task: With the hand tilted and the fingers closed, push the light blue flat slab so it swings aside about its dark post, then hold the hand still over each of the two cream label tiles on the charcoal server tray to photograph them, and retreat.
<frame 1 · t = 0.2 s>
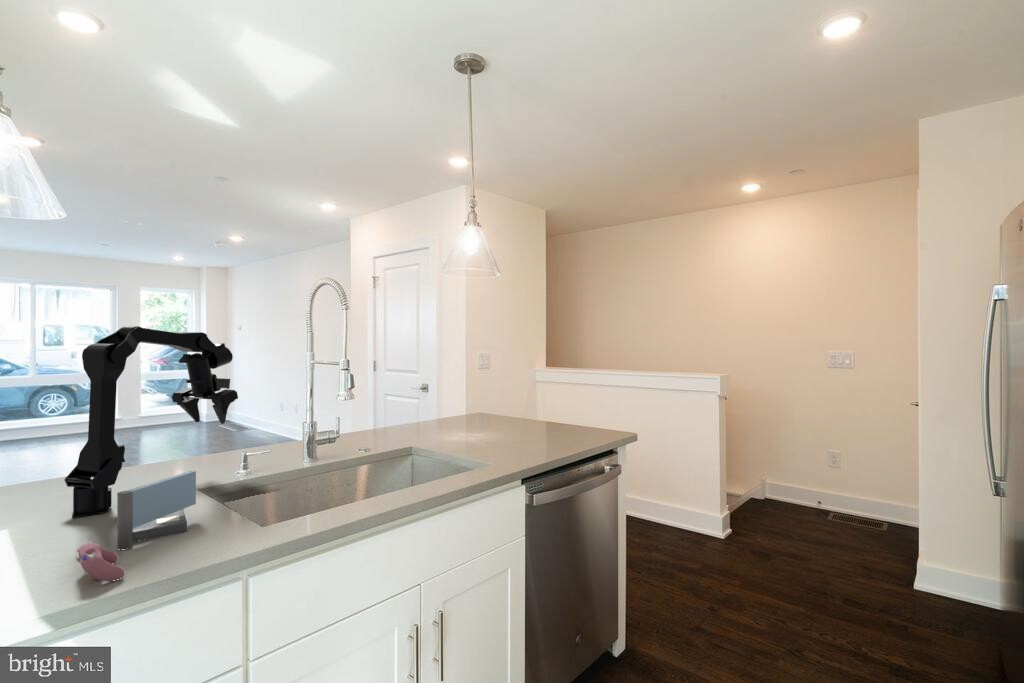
hand: (210, 422, 151), 15 cm above the worktop, tool pointing down, fingers open, 9 cm apart
light blue flat slab: (159, 507, 106), point 6 cm above the worktop, hinge at 0.0°
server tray: (153, 524, 111), on the worktop
video game controller: (99, 577, 87), on the worktop
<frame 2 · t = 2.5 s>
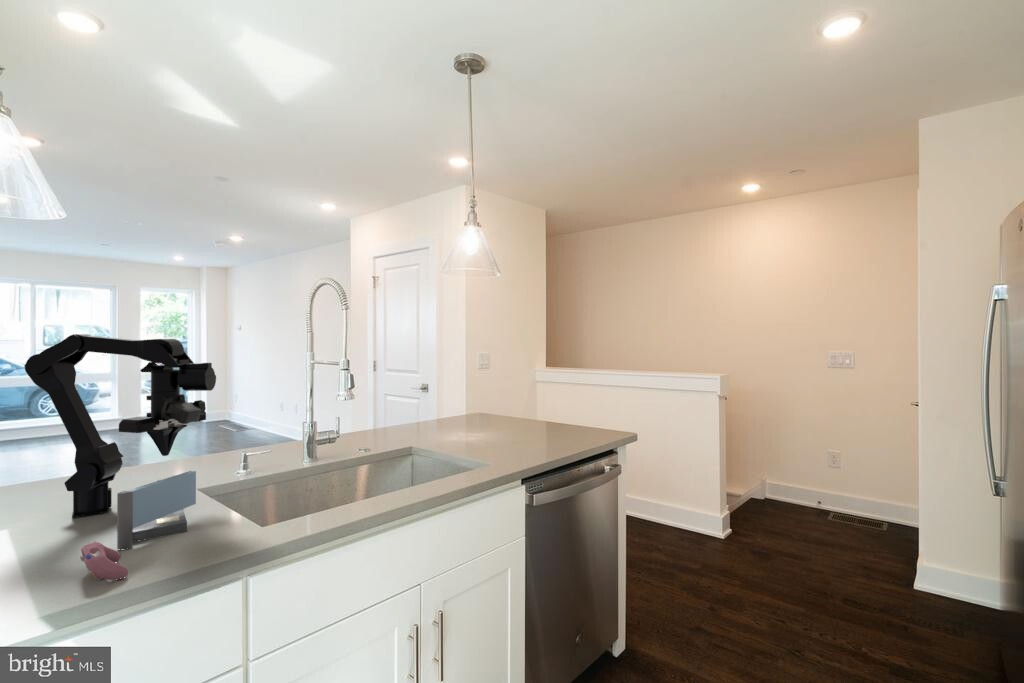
hand: (165, 455, 120), 13 cm above the worktop, tool pointing down, fingers closed
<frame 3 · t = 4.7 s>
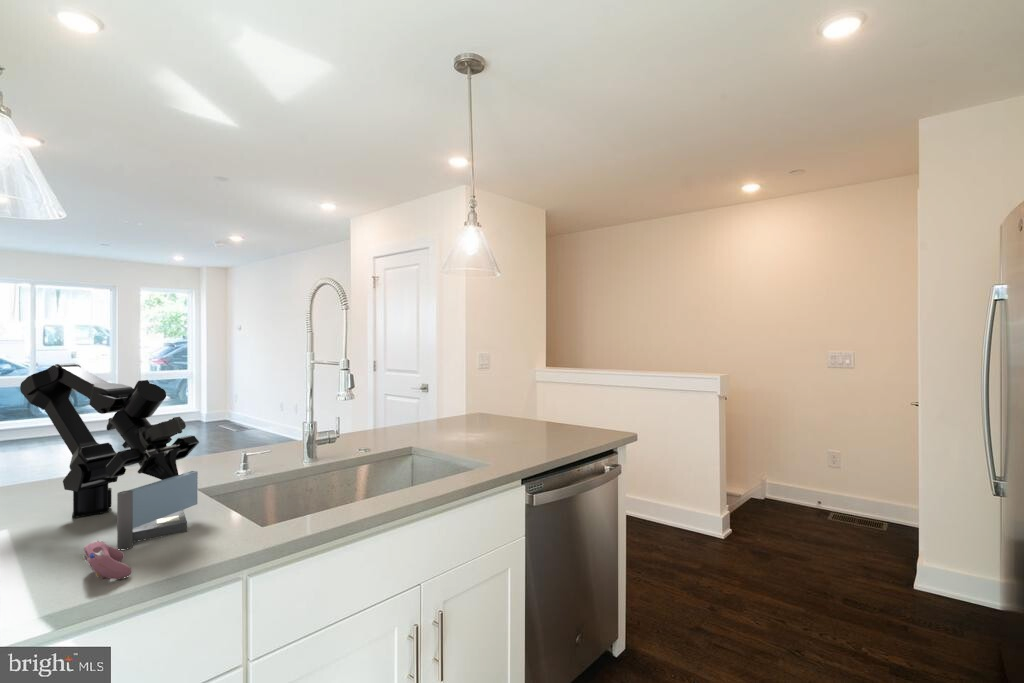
hand: (177, 483, 111), 9 cm above the worktop, tool tilted 45°, fingers closed, pressing on light blue flat slab
light blue flat slab: (159, 507, 106), point 6 cm above the worktop, hinge at -1.7°, touching gripper
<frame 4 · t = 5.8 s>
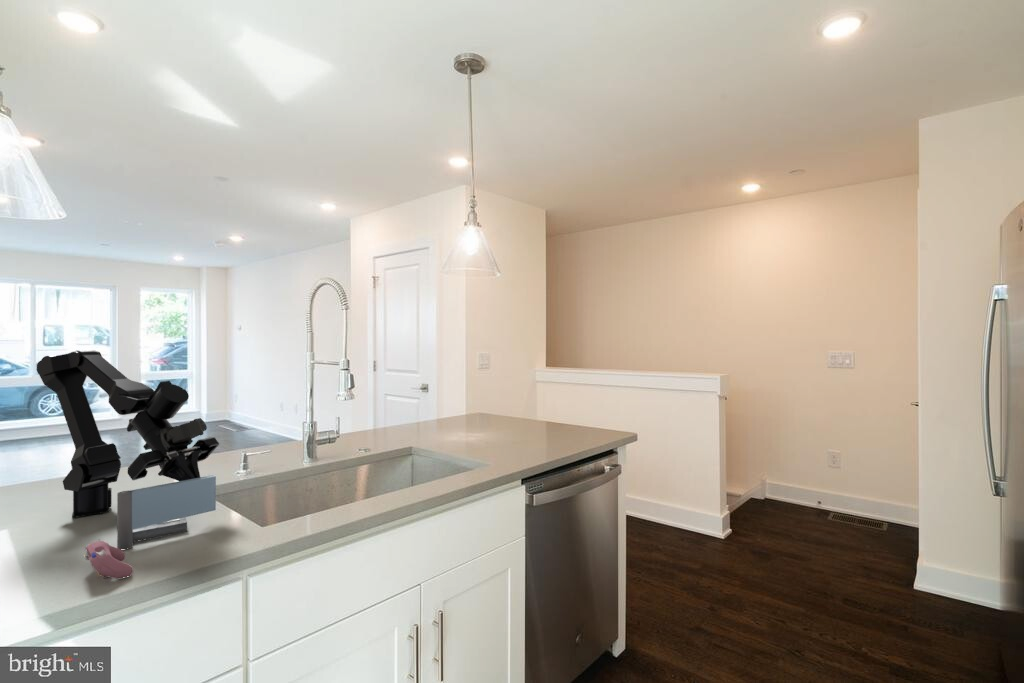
hand: (198, 485, 109), 9 cm above the worktop, tool tilted 45°, fingers closed
light blue flat slab: (169, 510, 104), point 6 cm above the worktop, hinge at -28.3°
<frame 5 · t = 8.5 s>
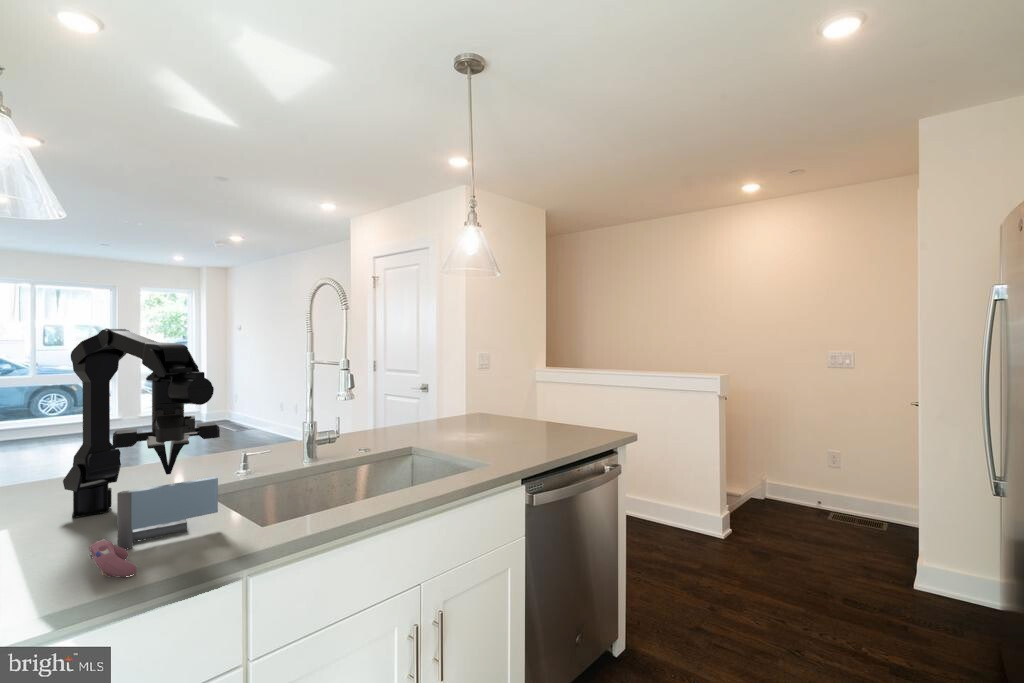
hand: (168, 474, 108), 12 cm above the worktop, tool pointing down, fingers closed
light blue flat slab: (169, 511, 104), point 6 cm above the worktop, hinge at -34.9°
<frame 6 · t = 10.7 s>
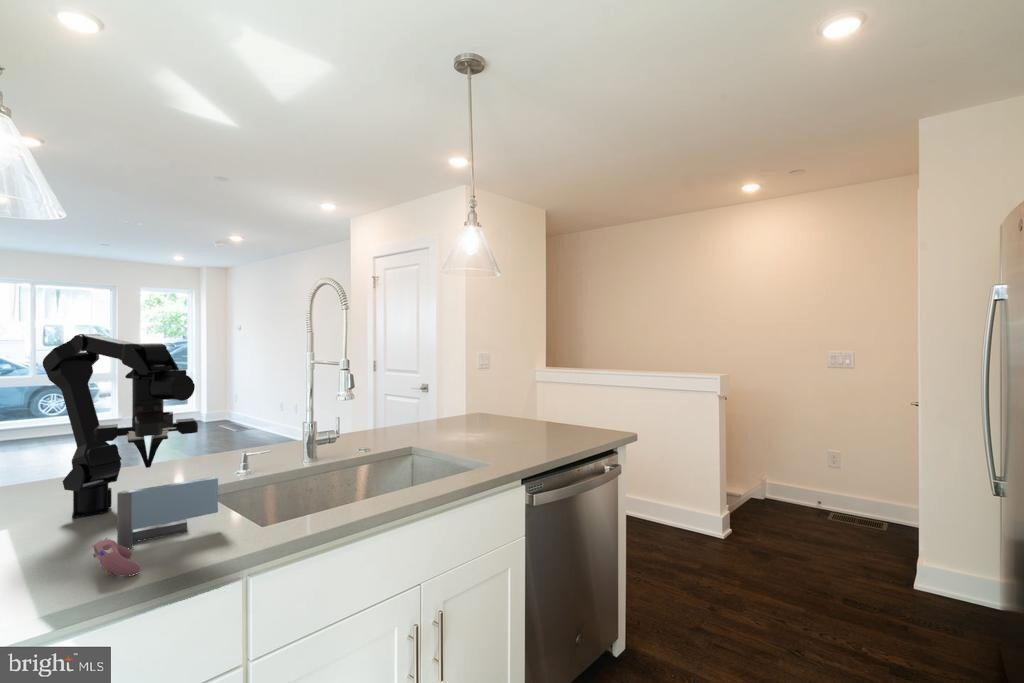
hand: (148, 467, 113), 12 cm above the worktop, tool pointing down, fingers closed
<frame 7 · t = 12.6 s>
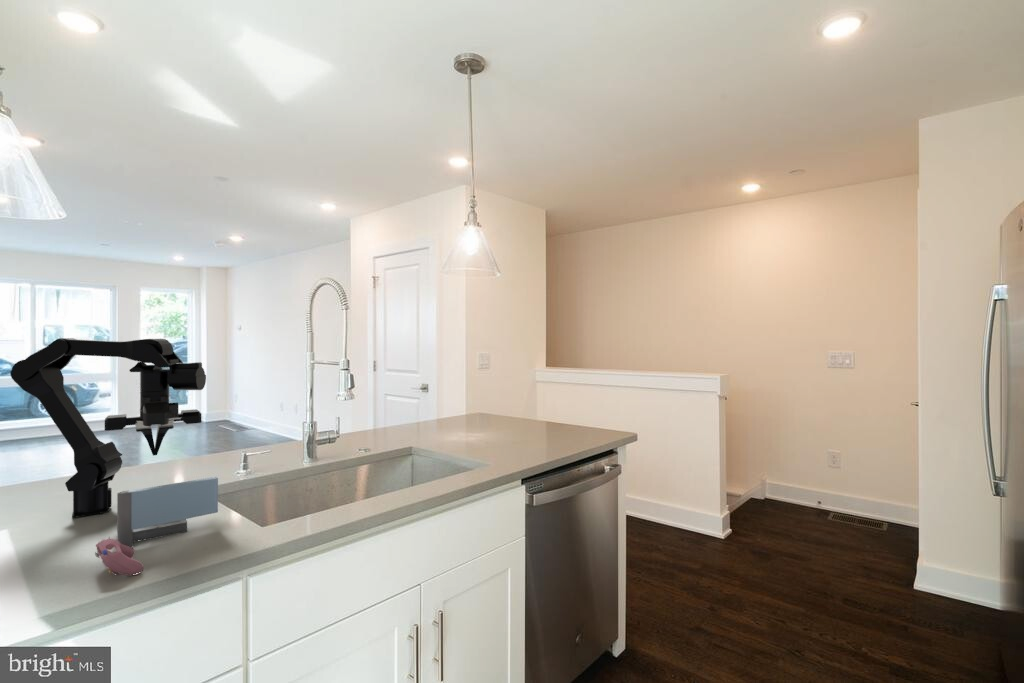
hand: (154, 455, 120), 13 cm above the worktop, tool pointing down, fingers closed
at the end: light blue flat slab at -35° (first picture: +0°) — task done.
